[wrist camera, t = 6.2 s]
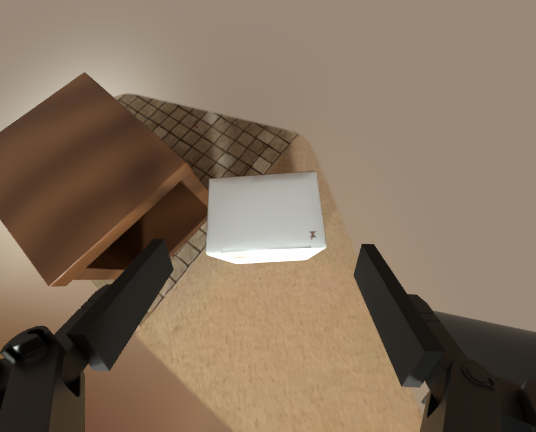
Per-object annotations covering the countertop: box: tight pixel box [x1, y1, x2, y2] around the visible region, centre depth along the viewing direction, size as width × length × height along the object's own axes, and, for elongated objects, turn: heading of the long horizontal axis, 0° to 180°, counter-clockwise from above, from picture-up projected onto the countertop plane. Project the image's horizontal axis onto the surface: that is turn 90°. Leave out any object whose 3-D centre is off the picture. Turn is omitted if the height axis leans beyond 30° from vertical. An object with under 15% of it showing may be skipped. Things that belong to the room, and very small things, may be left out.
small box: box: [206, 171, 327, 264], centre depth 19 cm, size 8×6×10 cm
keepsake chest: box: [0, 73, 209, 287], centre depth 21 cm, size 14×12×10 cm
